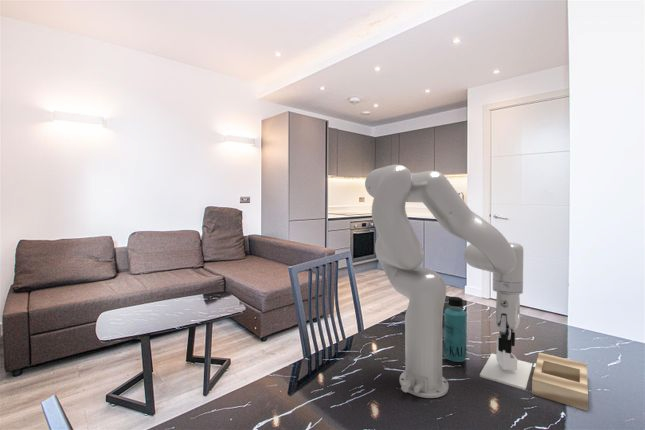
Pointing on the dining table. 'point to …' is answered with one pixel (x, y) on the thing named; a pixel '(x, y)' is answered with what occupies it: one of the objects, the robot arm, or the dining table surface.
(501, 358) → the white angled block
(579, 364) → the block
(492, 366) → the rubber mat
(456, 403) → the dining table surface
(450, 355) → the beverage bottle
